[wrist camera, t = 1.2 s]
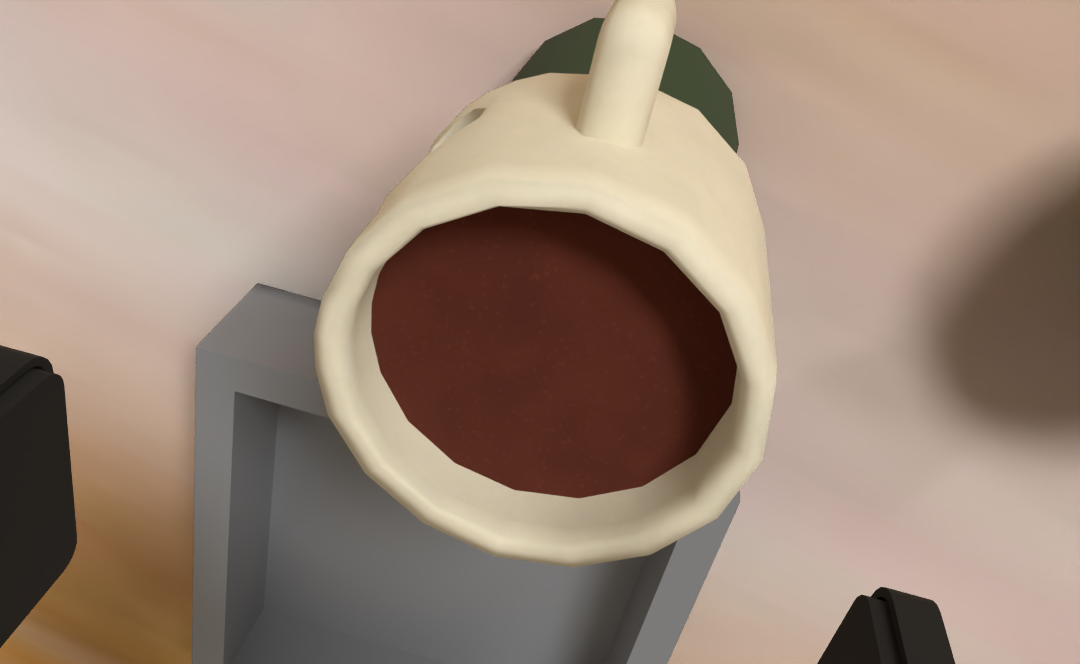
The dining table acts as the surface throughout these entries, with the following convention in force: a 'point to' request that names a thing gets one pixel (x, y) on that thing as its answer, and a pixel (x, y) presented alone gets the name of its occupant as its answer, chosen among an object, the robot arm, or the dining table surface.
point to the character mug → (564, 308)
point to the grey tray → (378, 539)
